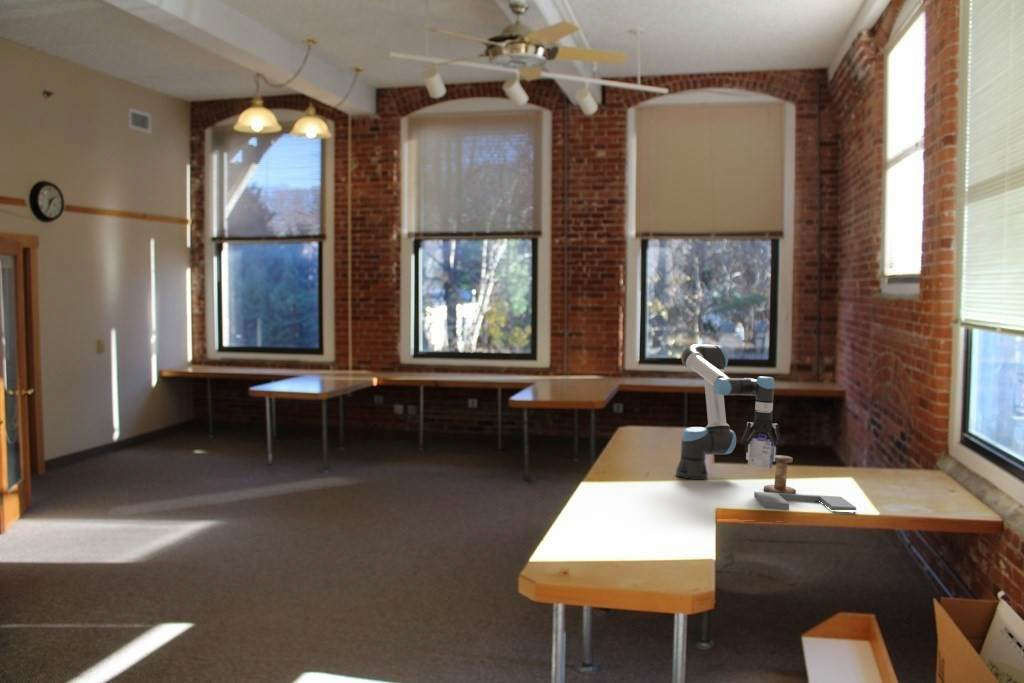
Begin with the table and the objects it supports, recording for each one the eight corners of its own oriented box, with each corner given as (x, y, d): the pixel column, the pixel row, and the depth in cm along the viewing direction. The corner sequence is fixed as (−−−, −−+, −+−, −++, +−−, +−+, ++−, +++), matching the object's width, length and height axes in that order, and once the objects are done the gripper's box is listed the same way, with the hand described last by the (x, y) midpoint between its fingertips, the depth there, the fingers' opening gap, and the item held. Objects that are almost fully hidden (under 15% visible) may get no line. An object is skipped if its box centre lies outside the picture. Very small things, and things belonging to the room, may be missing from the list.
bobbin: (768, 494, 390) (771, 459, 389) (760, 487, 404) (762, 453, 403) (799, 496, 390) (802, 461, 389) (790, 489, 404) (793, 455, 403)
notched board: (765, 508, 366) (765, 502, 366) (753, 497, 384) (754, 491, 384) (855, 513, 366) (856, 507, 365) (840, 502, 384) (840, 496, 383)
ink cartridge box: (772, 467, 389) (774, 435, 388) (769, 469, 384) (772, 436, 383) (750, 464, 394) (752, 432, 393) (747, 466, 389) (749, 434, 388)
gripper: (739, 411, 384) (736, 460, 385) (792, 413, 384) (788, 463, 385) (735, 408, 391) (732, 457, 393) (787, 411, 391) (783, 459, 393)
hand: (760, 460), depth 389 cm, fingers closed on ink cartridge box, 11 cm apart
